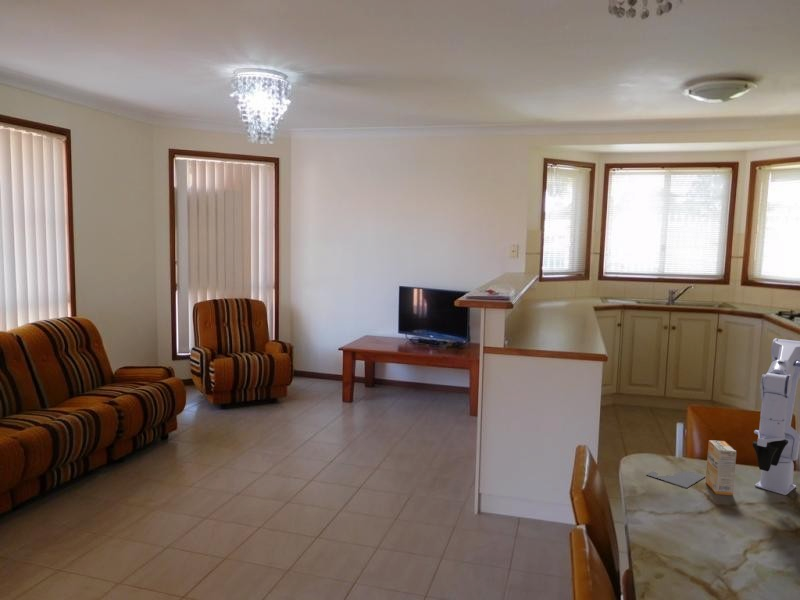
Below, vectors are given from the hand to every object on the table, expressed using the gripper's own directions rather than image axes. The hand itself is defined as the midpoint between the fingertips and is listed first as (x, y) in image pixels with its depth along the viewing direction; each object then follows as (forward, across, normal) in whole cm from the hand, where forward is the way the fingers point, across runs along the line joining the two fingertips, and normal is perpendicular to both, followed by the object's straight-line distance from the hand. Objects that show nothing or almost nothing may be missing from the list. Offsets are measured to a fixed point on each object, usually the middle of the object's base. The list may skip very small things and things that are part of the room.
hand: (768, 467), depth 159 cm
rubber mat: (+10, 0, -24) cm, 26 cm away
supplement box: (+11, -1, -12) cm, 16 cm away
